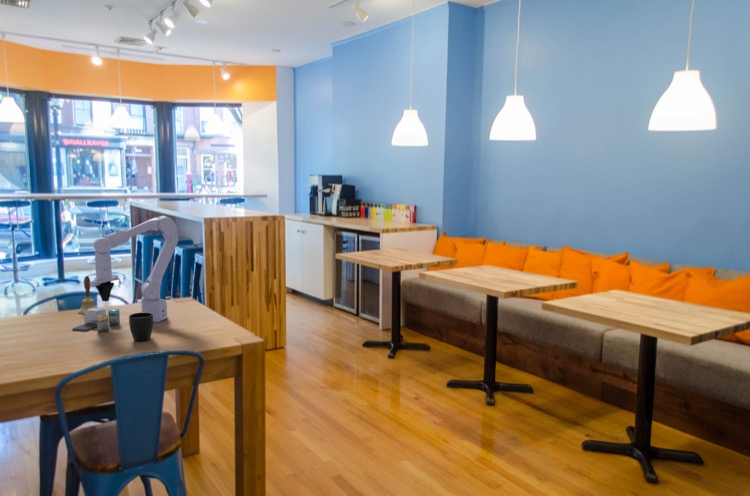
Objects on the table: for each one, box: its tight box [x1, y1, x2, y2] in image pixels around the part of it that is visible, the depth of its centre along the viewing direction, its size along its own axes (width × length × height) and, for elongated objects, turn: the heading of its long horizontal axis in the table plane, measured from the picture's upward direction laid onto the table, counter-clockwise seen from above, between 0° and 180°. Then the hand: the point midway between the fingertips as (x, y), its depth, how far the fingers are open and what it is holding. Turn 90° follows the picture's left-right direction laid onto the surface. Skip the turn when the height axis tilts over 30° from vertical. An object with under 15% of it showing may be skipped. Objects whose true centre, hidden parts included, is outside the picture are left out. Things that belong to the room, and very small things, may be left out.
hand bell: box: [77, 275, 97, 315], centre depth 242 cm, size 8×8×16 cm
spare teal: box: [107, 308, 121, 327], centre depth 224 cm, size 4×4×6 cm
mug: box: [128, 311, 154, 343], centre depth 207 cm, size 8×12×10 cm
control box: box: [83, 307, 107, 325], centre depth 224 cm, size 6×5×6 cm
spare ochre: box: [96, 314, 110, 334], centre depth 215 cm, size 4×4×6 cm
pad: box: [72, 323, 97, 332], centre depth 218 cm, size 6×6×1 cm
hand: (105, 300), depth 223 cm, fingers closed
